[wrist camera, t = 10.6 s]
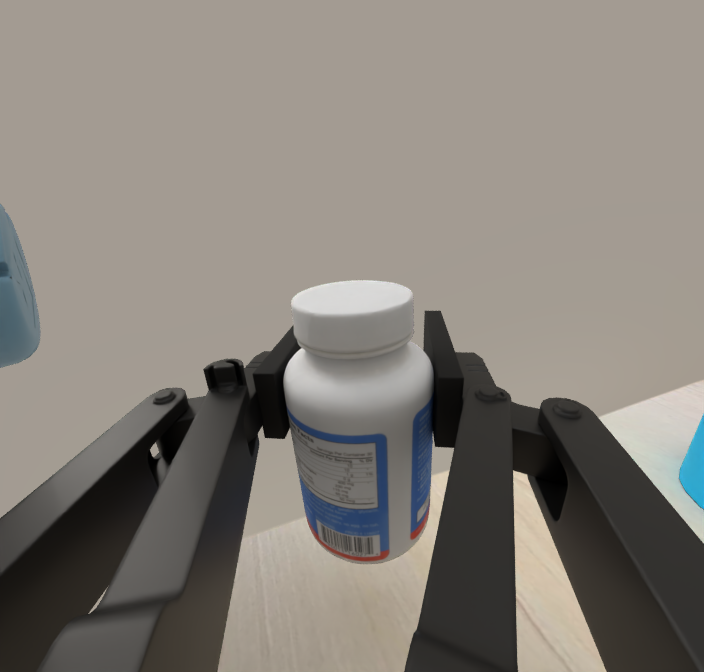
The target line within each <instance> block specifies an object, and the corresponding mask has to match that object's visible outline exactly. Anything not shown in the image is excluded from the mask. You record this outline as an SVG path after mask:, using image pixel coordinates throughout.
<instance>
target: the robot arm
mask: <svg viewBox="0 0 704 672" xmlns="http://www.w3.org/2000/svg"><path fill="white" fill-rule="evenodd" d="M424 321H425V322H424V350H423V351H424V352H425V353H426V355H427V356H428V358H429V359H430V361H431V364H432V367H433V371H434V406H433V434H434V442H435V447H450V448H454V453H453V457H452V462H451V467H450V472H449V477H448V482H447V487H446V492H445V497H444V501H443V506H442V511H441V516H440V521H439V526H438V531H437V536H436V541H435V545H434V550H433V555H432V560H431V565H430V570H429V575H428V580H427V585H426V589H425V594H424V599H423V604H422V609H421V614H420V618H419V623H418V627H417V630H416V631H415V633H414V634H413V638H412V641H411V645H410V649H409V653H408V658H407V662H406V667H405V671H404V672H518V666H517V632H516V587H515V541H514V496H513V470H514V471H517V472H521V473H524V474H527V475H528V480H529V482H530V485H531V487H532V489H533V492H534V494H535V497H536V499H537V502H538V504H539V507H540V509H541V512H542V514H543V516H544V519H545V521H546V524H547V526H548V529H549V531H550V534H551V536H552V539H553V541H554V543H555V546H556V548H557V551H558V553H559V556H560V558H561V561H562V563H563V566H564V568H565V570H566V573H567V575H568V578H569V580H570V583H571V585H572V588H573V590H574V593H575V595H576V597H577V600H578V602H579V605H580V607H581V610H582V612H583V615H584V617H585V619H586V622H587V624H588V627H589V629H590V632H591V634H592V637H593V639H594V642H595V644H596V646H597V649H598V651H599V654H600V656H601V659H602V661H603V664H604V666H605V669H606V671H607V672H704V544H703V542H702V541H701V540H700V539H699V538H698V536H697V535H696V534H695V533H694V532H693V531H692V529H691V528H690V527H689V526H688V525H687V523H686V522H685V521H684V520H683V519H682V517H681V516H680V515H679V514H678V513H677V511H676V510H675V509H674V508H673V507H672V505H671V504H670V503H669V502H668V501H667V499H666V498H665V497H664V496H663V495H662V494H661V492H660V491H659V490H658V489H657V488H656V486H655V485H654V484H653V483H652V482H651V480H650V479H649V478H648V477H647V476H646V474H645V473H644V472H643V471H642V470H641V468H640V467H639V466H638V465H637V464H636V462H635V461H634V460H633V459H632V458H631V457H630V455H629V454H628V453H627V452H626V451H625V449H624V448H623V447H622V446H621V445H620V443H619V442H618V441H617V440H616V439H615V437H614V436H613V435H612V434H611V433H610V431H609V430H608V429H607V428H606V427H605V426H604V424H603V423H602V422H601V421H600V420H599V418H598V417H597V416H596V415H595V414H594V412H593V411H591V410H590V409H589V408H588V407H586V406H584V405H582V404H581V403H579V402H577V401H574V400H570V399H567V398H548V399H546V400H543V402H542V403H541V406H540V409H537V408H532V407H527V406H523V405H519V404H516V403H514V402H511V397H510V395H509V394H508V393H507V392H506V391H505V390H503V389H501V388H499V387H497V386H496V385H495V383H494V381H493V379H492V377H491V375H490V373H489V372H488V369H487V367H486V366H485V363H484V362H483V359H482V358H481V357H479V356H478V355H477V354H475V353H457V352H455V351H454V348H453V345H452V342H451V339H450V336H449V334H448V331H447V328H446V325H445V322H444V319H443V317H442V314H441V311H425V320H424ZM39 341H40V322H39V315H38V309H37V304H36V299H35V294H34V289H33V285H32V281H31V277H30V274H29V270H28V266H27V263H26V259H25V256H24V253H23V250H22V247H21V244H20V241H19V238H18V236H17V233H16V230H15V228H14V225H13V223H12V221H11V219H10V217H9V216H8V214H7V213H6V212H5V209H4V208H3V206H2V205H1V204H0V368H1V367H5V366H8V365H12V364H16V363H19V362H21V361H23V360H25V359H27V358H28V357H30V356H31V355H32V354H33V353H34V352H35V351H36V349H37V347H38V345H39ZM300 349H301V347H300V346H299V344H298V342H297V339H296V337H295V335H294V325H293V326H292V327H291V329H290V330H289V331H288V332H287V333H286V334H285V336H284V337H283V338H282V339H281V340H280V342H279V343H278V344H277V345H276V346H275V347H274V349H273V350H272V351H270V352H269V351H264V352H262V353H260V354H259V355H257V356H255V357H254V358H253V359H252V361H251V362H250V363H249V364H248V365H247V366H246V368H244V366H243V362H242V361H240V360H238V359H224V360H220V361H217V362H213V363H211V364H210V365H208V366H207V367H205V368H204V374H205V377H206V381H207V385H208V388H209V391H208V393H207V395H206V396H203V397H197V398H190V399H187V396H186V392H185V390H183V389H182V388H166V389H165V390H164V389H162V390H160V391H158V392H156V393H154V394H152V395H150V396H149V397H147V398H146V399H145V400H144V401H142V402H141V403H140V404H139V405H137V406H136V407H135V408H134V409H133V410H132V411H130V412H129V413H128V414H127V415H125V416H124V417H123V418H122V419H121V420H119V421H118V422H117V423H116V424H114V425H113V426H112V427H111V428H110V429H108V430H107V431H106V432H105V433H103V434H102V435H101V436H100V437H99V438H97V439H96V440H95V441H94V442H93V443H91V444H90V445H89V446H88V447H87V448H85V449H84V450H83V451H82V452H80V453H79V454H78V455H77V456H76V457H74V458H73V459H72V460H71V461H69V462H68V463H67V464H66V465H65V466H63V467H62V468H61V469H60V470H59V471H57V472H56V473H55V474H54V475H52V476H51V477H50V478H49V479H48V480H46V481H45V482H44V483H43V484H41V485H40V486H39V487H38V488H37V489H35V490H34V491H33V492H32V493H31V494H29V495H28V496H27V497H26V498H25V499H23V500H22V501H21V502H20V503H18V504H17V505H16V506H15V507H14V508H12V509H11V510H10V511H9V512H7V513H6V514H5V515H4V516H3V517H1V518H0V672H217V670H218V664H219V659H220V654H221V648H222V643H223V637H224V632H225V627H226V621H227V616H228V610H229V605H230V600H231V594H232V589H233V584H234V578H235V573H236V567H237V562H238V557H239V551H240V546H241V541H242V535H243V529H244V524H245V519H246V514H247V508H248V503H249V497H250V492H251V486H252V481H253V475H254V470H255V465H256V460H257V454H258V449H259V438H258V432H259V430H260V429H261V427H262V425H263V430H264V435H265V438H277V439H285V437H286V435H287V433H288V431H289V428H290V423H289V417H288V412H287V406H286V400H285V394H284V385H283V377H284V372H285V369H286V367H287V364H288V362H289V361H290V359H291V358H292V357H293V356H294V354H295V353H296V352H298V351H299V350H300ZM155 442H156V444H157V447H158V449H159V453H158V454H157V455H156V456H155V457H154V458H153V457H152V454H151V452H150V449H151V447H152V446H153V444H154V443H155ZM107 587H108V588H107ZM106 588H107V590H106ZM105 590H106V592H105V594H104V596H103V598H102V600H101V601H100V603H99V605H98V606H97V608H96V609H95V610H94V611H93V612H91V613H90V614H88V613H89V612H90V610H91V609H92V608H93V606H94V605H95V604H96V602H97V601H98V599H99V598H100V597H101V595H102V594H103V592H104V591H105Z"/></svg>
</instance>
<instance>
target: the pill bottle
mask: <svg viewBox="0 0 704 672" xmlns="http://www.w3.org/2000/svg"><path fill="white" fill-rule="evenodd" d="M291 309H292V316H293V325H294V335H295V337H296V339H297V342H298V344H299V346H300V347H301V349H300V350H299V351H298V352H296V353H295V354H294V356H293V357H292V358H291V359H290V361H289V362H288V364H287V367H286V369H285V372H284V377H283V385H284V394H285V400H286V406H287V412H288V417H289V423H290V429H291V434H292V440H293V445H294V451H295V456H296V462H297V468H298V473H299V478H300V483H301V490H302V495H303V502H304V507H305V513H306V517H307V521H308V524H309V527H310V529H311V532H312V534H313V535H314V537H315V539H316V540H317V541H318V542H319V544H320V545H321V546H322V547H323V548H324V549H325V550H327V551H328V552H329V553H331V554H332V555H334V556H336V557H338V558H340V559H342V560H345V561H349V562H352V563H357V564H378V563H383V562H387V561H390V560H392V559H395V558H397V557H399V556H401V555H402V554H404V553H405V552H407V551H408V550H409V549H410V548H411V547H413V546H414V545H415V543H416V542H417V541H418V540H419V538H420V537H421V535H422V533H423V531H424V529H425V527H426V524H427V520H428V515H429V507H430V486H431V460H432V458H431V457H432V443H433V440H432V436H433V435H432V434H433V406H434V371H433V367H432V364H431V361H430V359H429V358H428V356H427V355H426V353H425V352H424V351H423V350H422V349H421V348H420V347H419V346H418V345H416V344H415V343H413V342H412V341H410V340H411V338H412V337H413V334H414V329H413V327H414V321H413V319H414V315H413V314H414V309H413V294H412V291H410V289H408V288H407V287H405V286H402V285H400V284H396V283H391V282H384V281H370V280H355V281H342V282H335V283H328V284H323V285H319V286H315V287H312V288H309V289H306V290H304V291H302V292H300V293H298V294H297V295H295V296H294V297H293V299H292V301H291Z"/></svg>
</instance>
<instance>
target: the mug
mask: <svg viewBox="0 0 704 672" xmlns="http://www.w3.org/2000/svg"><path fill="white" fill-rule="evenodd" d="M679 479H680V481H681V483H682V485H683V487H684V489H685V491H686V492H687V493H688V494H689V495H690V496H691V497H692V498H693V500H694V501H695V502H696V503H697V504H698V505H699V506H700V507H702V508H703V509H704V414H703V416H702V419H701V421H700V424H699V426H698V428H697V431H696V433H695V435H694V438H693V440H692V442H691V445H690V447H689V449H688V452H687V454H686V456H685V459H684V461H683V463H682V466H681V468H680V474H679Z"/></svg>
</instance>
